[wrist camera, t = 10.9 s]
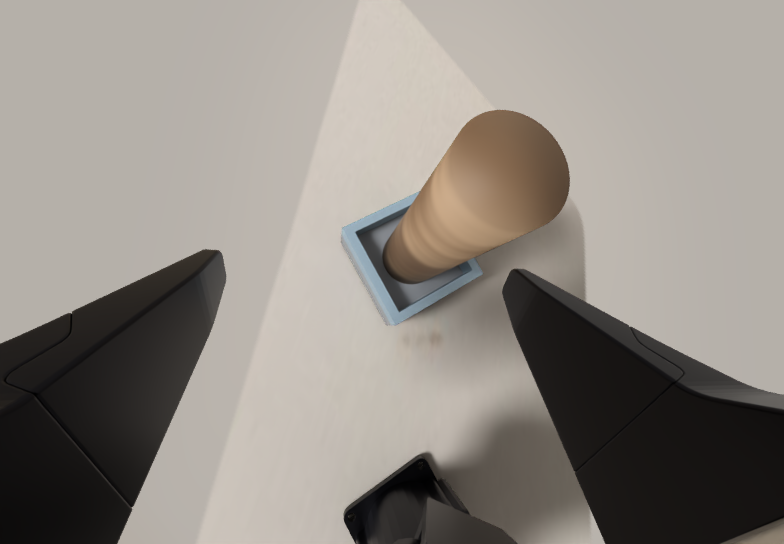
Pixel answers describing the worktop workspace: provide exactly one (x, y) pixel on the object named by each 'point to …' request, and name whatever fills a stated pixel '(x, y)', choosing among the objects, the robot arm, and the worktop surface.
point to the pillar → (480, 196)
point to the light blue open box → (386, 292)
